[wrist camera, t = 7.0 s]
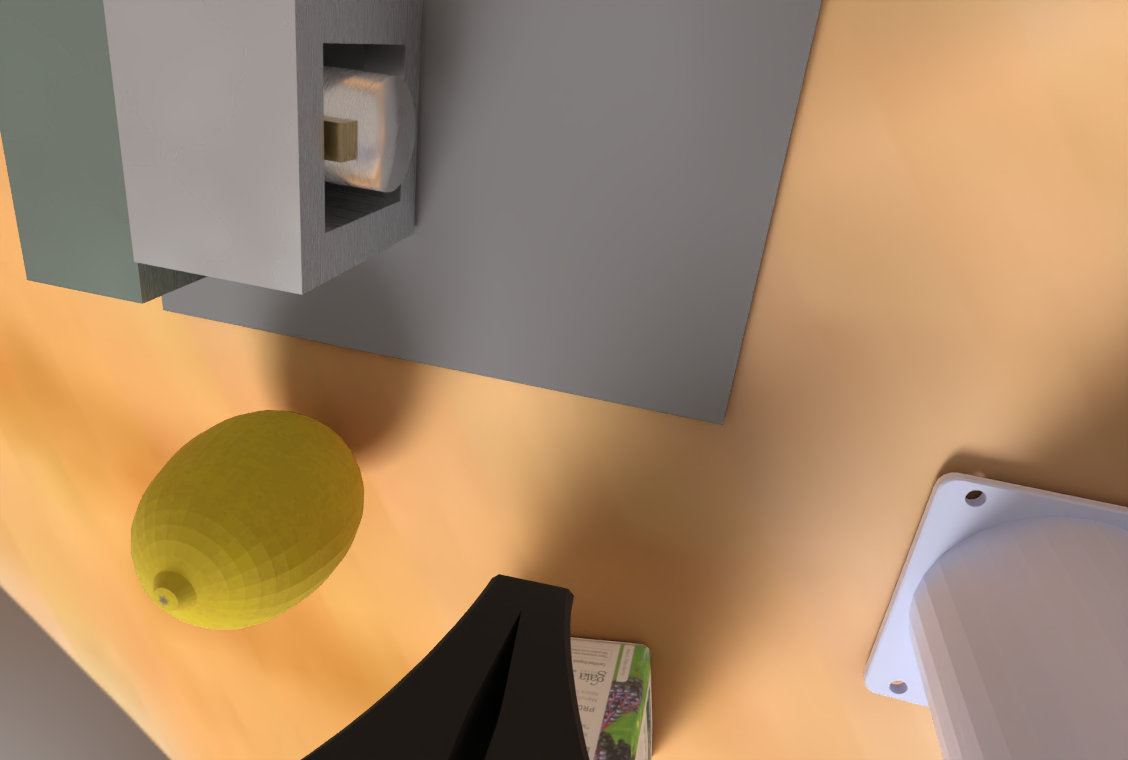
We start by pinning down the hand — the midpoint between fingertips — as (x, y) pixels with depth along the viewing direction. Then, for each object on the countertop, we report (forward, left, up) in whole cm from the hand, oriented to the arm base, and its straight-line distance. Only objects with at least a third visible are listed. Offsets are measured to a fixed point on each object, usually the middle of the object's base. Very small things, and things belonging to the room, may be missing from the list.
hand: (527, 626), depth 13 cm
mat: (+6, -7, -10) cm, 14 cm away
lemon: (+9, +4, -11) cm, 15 cm away
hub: (+8, -7, -10) cm, 15 cm away
